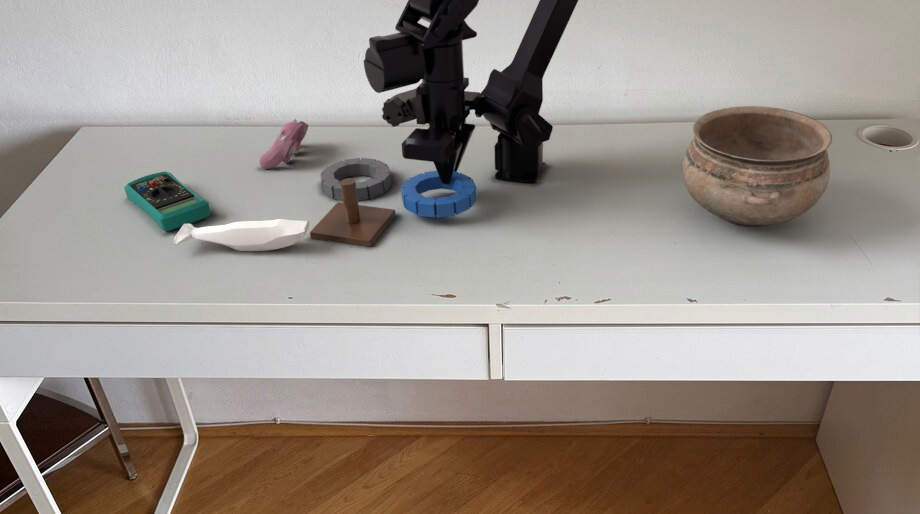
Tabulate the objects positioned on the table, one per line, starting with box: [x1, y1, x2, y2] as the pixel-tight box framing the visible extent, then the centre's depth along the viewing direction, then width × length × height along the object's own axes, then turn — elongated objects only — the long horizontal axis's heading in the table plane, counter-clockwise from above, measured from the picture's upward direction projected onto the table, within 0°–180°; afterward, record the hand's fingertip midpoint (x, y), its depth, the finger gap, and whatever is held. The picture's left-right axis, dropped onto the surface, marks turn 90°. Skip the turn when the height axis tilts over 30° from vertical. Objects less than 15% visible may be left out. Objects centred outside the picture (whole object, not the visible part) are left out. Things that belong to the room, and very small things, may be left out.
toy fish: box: [173, 218, 310, 252], centre depth 118 cm, size 6×18×4 cm, turn 85°
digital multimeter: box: [123, 171, 212, 232], centre depth 129 cm, size 7×15×3 cm, turn 39°
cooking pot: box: [681, 105, 833, 228], centre depth 118 cm, size 25×19×12 cm
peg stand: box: [309, 177, 397, 248], centre depth 121 cm, size 9×9×7 cm
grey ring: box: [320, 157, 393, 201], centre depth 133 cm, size 10×10×2 cm
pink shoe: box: [258, 118, 309, 170], centre depth 140 cm, size 10×5×7 cm, turn 168°
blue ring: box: [400, 170, 478, 218], centre depth 125 cm, size 10×10×2 cm
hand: (448, 180), depth 128 cm, fingers closed on blue ring, 2 cm apart
